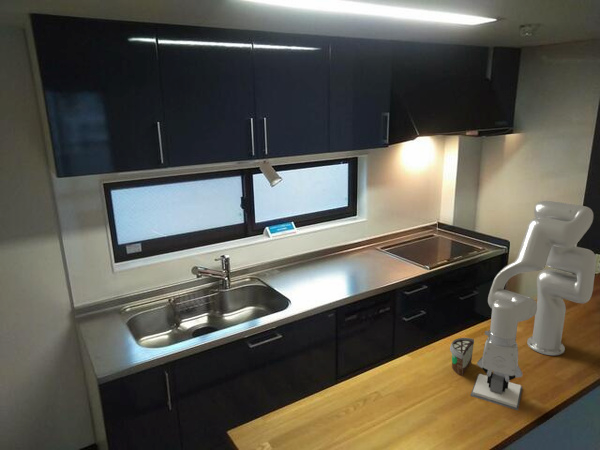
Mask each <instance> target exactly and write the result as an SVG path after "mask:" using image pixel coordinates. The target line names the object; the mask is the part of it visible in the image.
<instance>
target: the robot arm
mask: <svg viewBox="0 0 600 450" xmlns="http://www.w3.org/2000/svg"><path fill="white" fill-rule="evenodd" d="M533 213H534V217H535V218H532V219H531V220H529V222H528V224H527V226H526V230H525V233H524V235H523V239H522V241H521V243H520V247H519V250H518V253H517V255H516V256H517V257H516V258H515V260H514V261H512V262H511V263H509V264H507V265H505V266H504V267H503V268H502V269H500V271H499V272H498V273H497V274H496V275H495V277H494V279H493V281H492V284H491V286H490V290H489V293H488V297H487V303H488V306H489V307H490V309H491V316H490V317H491V319H490V329H489V330H485V332H484V335H485V336H488V337H487V338H486V341H485V343H484V348H483V353H482V356H481V357H480V358H479V360H477V362H476V365H477V367H479V368H481V369H482V370H483V372H484V373H485V374H486V376H488V378H487V383H489V388H490V387H491V379H492V375H493V372H498V373H501V374H505V378H504V382H503V390H502V391H503V392H505V388H506V389H508V383H509V382H511V380H514V379H515V378H522V377H523V371H522V370H521V368H520V366H519V364H518V363H519V348H518V347H519V346H518V343H517V341H516V340H517V332H518V323H521V322H523V321H524V322H525V321H527V320H529V319H531V318H533V317H534V323H533V332H532V336H530V337H528V338H527V342H526V344H527V346H528V347H529V348H530V349H531V350H533V351H534V352H537V353H539V354H542V355H545V356H546V355H547V356H560V355H562V354H564V353H565V350H566V349H565V348H566V347H565V346H564V344H563V343H562V336H563V331H564V324H565V323H564V322H565V317H566V310H567V309H566V304H565V301H566V300H567V301H571V302H573V303H577V304H586V303H588V302H589V301H590V300H591V298H592V295H593V290H594V283H595V276H596V275H595V274H596V267H597V256H596V254H595V253H594V251H592V250H591V249H588V248H584V247H580V246H576V245H577V244H579V243H578V242H580V241H581V239H582V238H583V236H584V235H585V234H586V233H587V231H588V230H589V229H590V228H591V225H592V224H593V222H594V221H593V220H594V212H593V210H592V208H590V207H588V206H584V205H580V204H572V203H566V202H565V203H564V202H559V201H554V200H553V201H552V200H541V201H538V202H537V203H535V204H534V209H533ZM545 267H549V268H546V269H545ZM539 271H540V272H539ZM529 272H539V273H538V274H537V278H536V287H537V288H536V290H537V291H536V292H537V293H536V295H537V297H536V300H535V299H534V298H532V297H530V296H527V295H523V294H520V293H518V292H514V291H510V290H508V289H504V288H505V286H506V284H507V282H508V281H510V279H511V278H512V277H514V276H516V275H519V274H523V273H529ZM564 300H565V301H564Z"/></svg>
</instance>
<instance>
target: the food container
mask: <svg viewBox="0 0 600 450" xmlns="http://www.w3.org/2000/svg"><path fill="white" fill-rule="evenodd" d="M474 345H475V339H474V338H471V337H460V338H455V339H454V340H453V341H452V342H451V344H450V346H449V350H450V353H451V367H452V370H453V372H454V373H456V374H457V375H459V376H461V377H463V376H464V374H465V373H466V371H467V369H468V368H469V367H470V365H471V364H472V360H473V351H474Z"/></svg>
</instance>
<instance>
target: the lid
mask: <svg viewBox="0 0 600 450" xmlns="http://www.w3.org/2000/svg"><path fill="white" fill-rule="evenodd" d="M492 372H493V375H492V379H491V387H490V388H489V383H487V378H488V376H487V374H486V375H485V374H482V373H479V376H478V375H477V376H478V379H477V381H476V380H475V381H476V384H475V383H474V384H475V387H474V386H473V387H474V390H473V389H472V390H473V395H476V396H480V397H483V398H486V399H489V400H493V401H496V402H499V403H502V404H506V405H509V406H512V407H515V408H517V404H518V399H519V394H520V388H521V387H522V385H521V384H517V383H514V382H511V381H509V383H508V389H506V388H505V392H503V391H502V390H503V382H504V378H505V374H501V373H498V372H494V371H492Z"/></svg>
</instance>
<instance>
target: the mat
mask: <svg viewBox="0 0 600 450" xmlns="http://www.w3.org/2000/svg"><path fill="white" fill-rule="evenodd" d="M479 374H480V373H479ZM479 374H477V376H476V378H475V381H474V384H473V386H472V390H471V393H470V397H473V398H477V399H479V400H483V401H486V402H490V403H493V404H497V405H499V406H502V407H505V408H508V409H513V410H516V411H519V408H520V402H521V398H522V393H523V392H522V391H523V386H521V388H520V394H519V399H518V404H517V408H515V407H512V406H509V405H506V404H502V403H499V402H496V401H493V400H489V399H486V398H483V397H480V396H476V395H473V390H474V387H475V384H476V381H477V379H478V376H479Z"/></svg>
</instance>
